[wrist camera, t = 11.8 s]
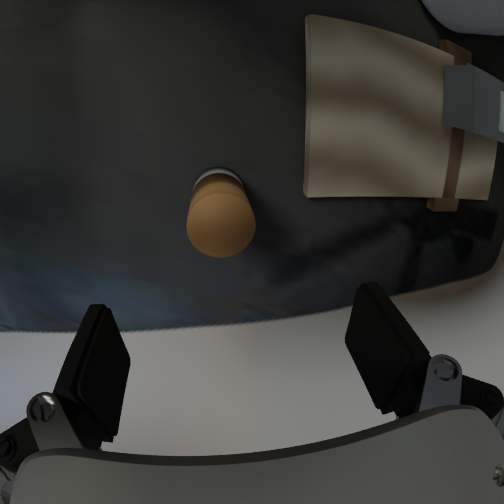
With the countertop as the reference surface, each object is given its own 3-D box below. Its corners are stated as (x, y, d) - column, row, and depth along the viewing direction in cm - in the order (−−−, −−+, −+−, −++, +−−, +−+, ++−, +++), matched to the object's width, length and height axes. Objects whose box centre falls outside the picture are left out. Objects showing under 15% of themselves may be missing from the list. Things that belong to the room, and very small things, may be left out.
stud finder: (444, 64, 17) (476, 66, 13) (490, 86, 18) (519, 92, 14) (442, 124, 20) (474, 133, 16) (487, 137, 21) (515, 147, 17)
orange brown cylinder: (191, 168, 21) (183, 197, 15) (242, 165, 22) (255, 192, 16) (195, 216, 23) (190, 259, 17) (243, 212, 24) (255, 254, 18)
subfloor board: (304, 2, 15) (309, -3, 14) (493, 68, 18) (501, 69, 17) (302, 209, 24) (306, 215, 23) (478, 207, 27) (485, 211, 26)
